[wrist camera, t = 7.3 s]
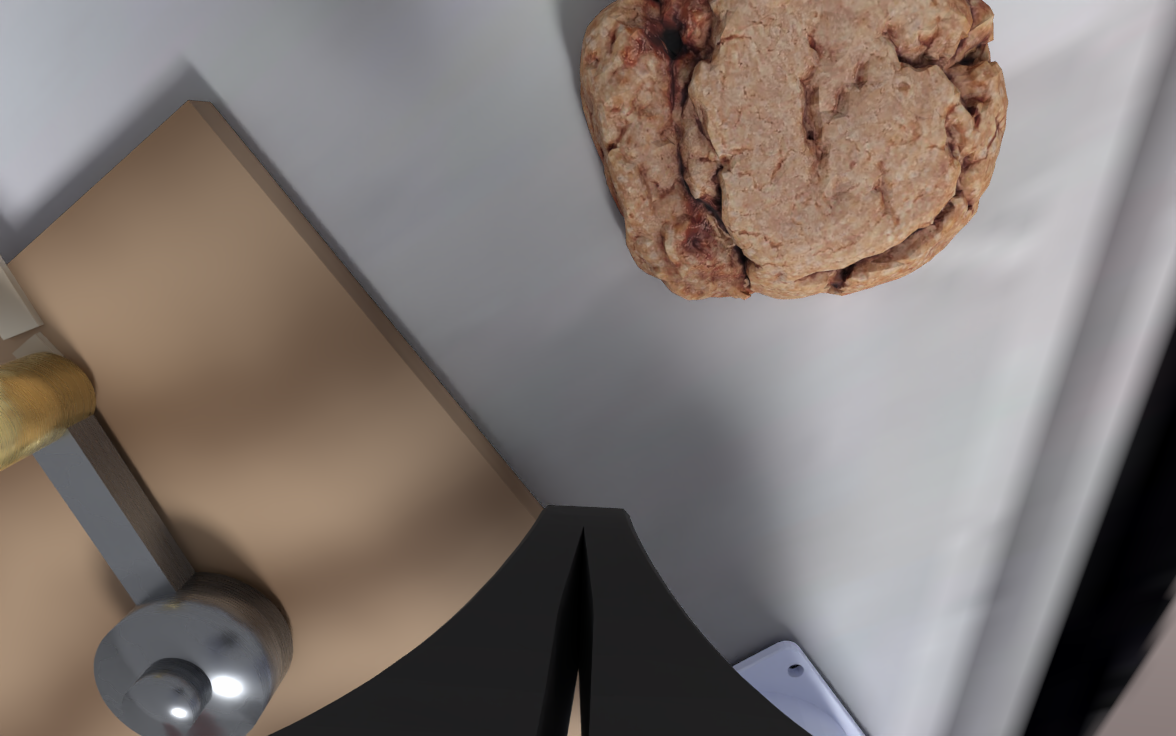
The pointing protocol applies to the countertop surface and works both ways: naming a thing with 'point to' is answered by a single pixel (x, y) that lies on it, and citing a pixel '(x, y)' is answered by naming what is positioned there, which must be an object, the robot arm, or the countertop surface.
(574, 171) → the countertop surface
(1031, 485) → the countertop surface
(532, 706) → the robot arm
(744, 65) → the cookie
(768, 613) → the countertop surface
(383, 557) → the brown cutting board
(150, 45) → the countertop surface
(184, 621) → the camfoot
